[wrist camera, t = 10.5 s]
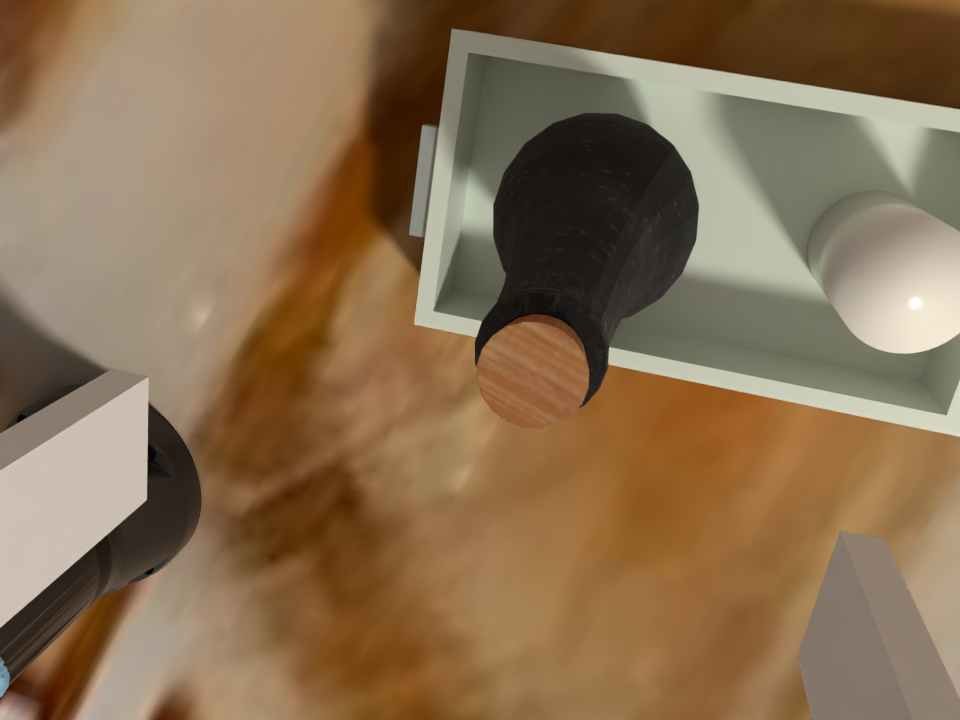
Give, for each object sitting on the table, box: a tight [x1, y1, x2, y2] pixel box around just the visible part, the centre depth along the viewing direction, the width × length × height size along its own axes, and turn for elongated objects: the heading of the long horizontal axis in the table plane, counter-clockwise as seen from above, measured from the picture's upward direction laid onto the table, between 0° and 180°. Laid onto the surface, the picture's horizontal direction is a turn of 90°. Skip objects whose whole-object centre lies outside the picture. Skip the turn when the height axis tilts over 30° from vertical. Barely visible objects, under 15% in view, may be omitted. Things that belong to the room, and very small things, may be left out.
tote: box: [409, 29, 960, 437], centre depth 48 cm, size 32×16×6 cm, turn 82°
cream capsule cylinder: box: [807, 191, 960, 354], centre depth 45 cm, size 6×6×9 cm
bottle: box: [475, 113, 699, 429], centre depth 37 cm, size 11×11×30 cm
